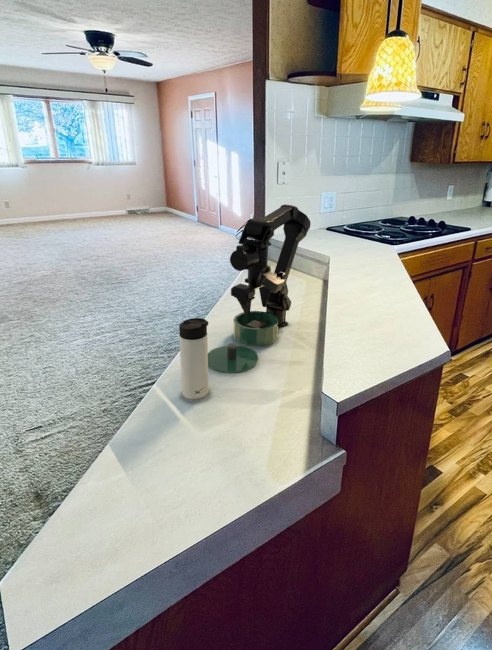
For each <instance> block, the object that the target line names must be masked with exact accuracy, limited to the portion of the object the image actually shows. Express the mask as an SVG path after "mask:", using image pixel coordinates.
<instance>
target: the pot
mask: <svg viewBox="0 0 492 650" xmlns="http://www.w3.org/2000/svg"><path fill="white" fill-rule="evenodd" d="M253 320H256V321H259V322H263V323H266V327H265V328H249V327H246V324H248V323H250V322H252V321H253ZM232 322H233V324H232V325H233V330H232V332H233V333H232V334H233V335H232V336H233V339H234V342H236V343H238V344H240V345H241V346H242V345H243V346H244V347H253V348H259V347H266V346H270V345H273V344H274V343H276V342H277V340H278V337H279V336H278V335H279V327H278V319H277V317H276V316H274V315H273V314H271V313H267V312H266V311H261V310H250V315H249V316H246V315H245V313H244V311H243V312H240V313H238V314H236V315H235V316H234V317H233V321H232Z"/></svg>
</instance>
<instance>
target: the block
mask: <svg viewBox="0 0 492 650" xmlns="http://www.w3.org/2000/svg"><path fill="white" fill-rule="evenodd" d="M246 327H249V328H265V327H266V323H263V322H259V321H256V320H253V321H252V322H250V323H248V324H246Z"/></svg>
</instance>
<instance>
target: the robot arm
mask: <svg viewBox="0 0 492 650" xmlns="http://www.w3.org/2000/svg"><path fill="white" fill-rule="evenodd" d="M282 226H283V228H282V229H283V233H284V239H283V243H282V247H281V249H280V253H279V256H278V259H277V262H276V265H275V268H274V271H272V269H271V265H268V259H269V258H268V254H269V247H270V246H272V242H271V239H272V238H273V237H274V236H275V231H276V230H277V229H279V228H280V227H282ZM310 229H311V219H309V217H308V215H307V214H306V213H304V212H303V211H301V210H300V209H299V208H298V207H297V206H296V205H292V204H281V205H280V207H278V208H277V209H275V210H273V211H272V212H270V213H269V214H266V215H265V216H261V217H253V218H250V219H248V220H247V221H246V223H245V225H244V227H243V230H242V232H241V235H240V237H239V240H238V245H236V249H235V250H234V251H232V252H231V254H230V256H229V262H230V265H231V266H232V268H233V269H234V270H235V271H237V272H238V271H239V272H242V271H245V270H247V277H245V279H244V283H246V284H244V283H238V284H236V285H234V286H232V287H231V288H230V296H231V297H233V298H235V299H236V300H237V302H238V303H239V305H240V307H241V309H242V311H243V312H244V313H245V315H246V316H249V315H250V311H251V308H252V307H251V306H252V302H253V300H254V299H256V296H255V295H256V290H258V291H259V296H260V302H261V306H262V307H263V308H265V312H267V313H271V314H273V315H274V316H276V317H277V319H278V328H282V327H284V326H287V325H289V322H287V319H286V318H287V316H286V315H287V312H288V311H290V309H291V307H292V300H291V299H290V297H289V296H288V295H289V288H288V285H287V281H288V279H289V276H290V272H291V268H292V265H293V263H294V259H295V256H296V254H297V250H298V246H299V243H301V241H302V240H304V239H305V238H306V236H307V235H308V232H309V230H310Z"/></svg>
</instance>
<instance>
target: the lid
mask: <svg viewBox="0 0 492 650" xmlns="http://www.w3.org/2000/svg"><path fill="white" fill-rule="evenodd" d="M258 362H259V355H258V354H257V352H255V351H254V350H253V349H252V348H250V347H247V346H244V345H243V346H242V345H237V344H236V343H235V342H230V343H228V344H227V345H223V346H218V347H215V348H213V349H211V350H209V351H208V368H210V369H211V370H213V371H214V372H215V371H216V372H218V373H224V374H238V373H243V372H247V371H249V370H251V369H253V368H254V367H255V366H256V365H257V364H258Z"/></svg>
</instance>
